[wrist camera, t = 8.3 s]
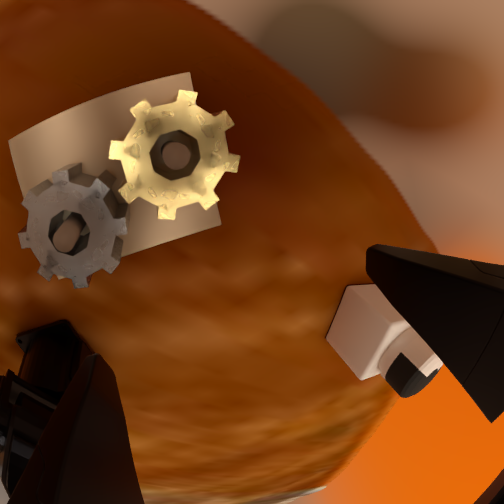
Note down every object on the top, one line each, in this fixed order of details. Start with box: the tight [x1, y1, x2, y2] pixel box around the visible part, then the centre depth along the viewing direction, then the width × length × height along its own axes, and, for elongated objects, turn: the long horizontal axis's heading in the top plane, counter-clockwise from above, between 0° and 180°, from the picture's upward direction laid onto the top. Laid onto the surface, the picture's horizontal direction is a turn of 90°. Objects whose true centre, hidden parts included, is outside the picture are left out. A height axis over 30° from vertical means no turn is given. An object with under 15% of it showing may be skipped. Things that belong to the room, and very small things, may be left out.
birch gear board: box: [8, 72, 222, 279], centre depth 13 cm, size 12×10×5 cm
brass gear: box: [109, 90, 240, 220], centre depth 14 cm, size 6×6×3 cm
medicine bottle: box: [326, 284, 443, 398], centre depth 24 cm, size 7×7×12 cm
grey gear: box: [18, 162, 130, 288], centre depth 13 cm, size 6×6×3 cm
